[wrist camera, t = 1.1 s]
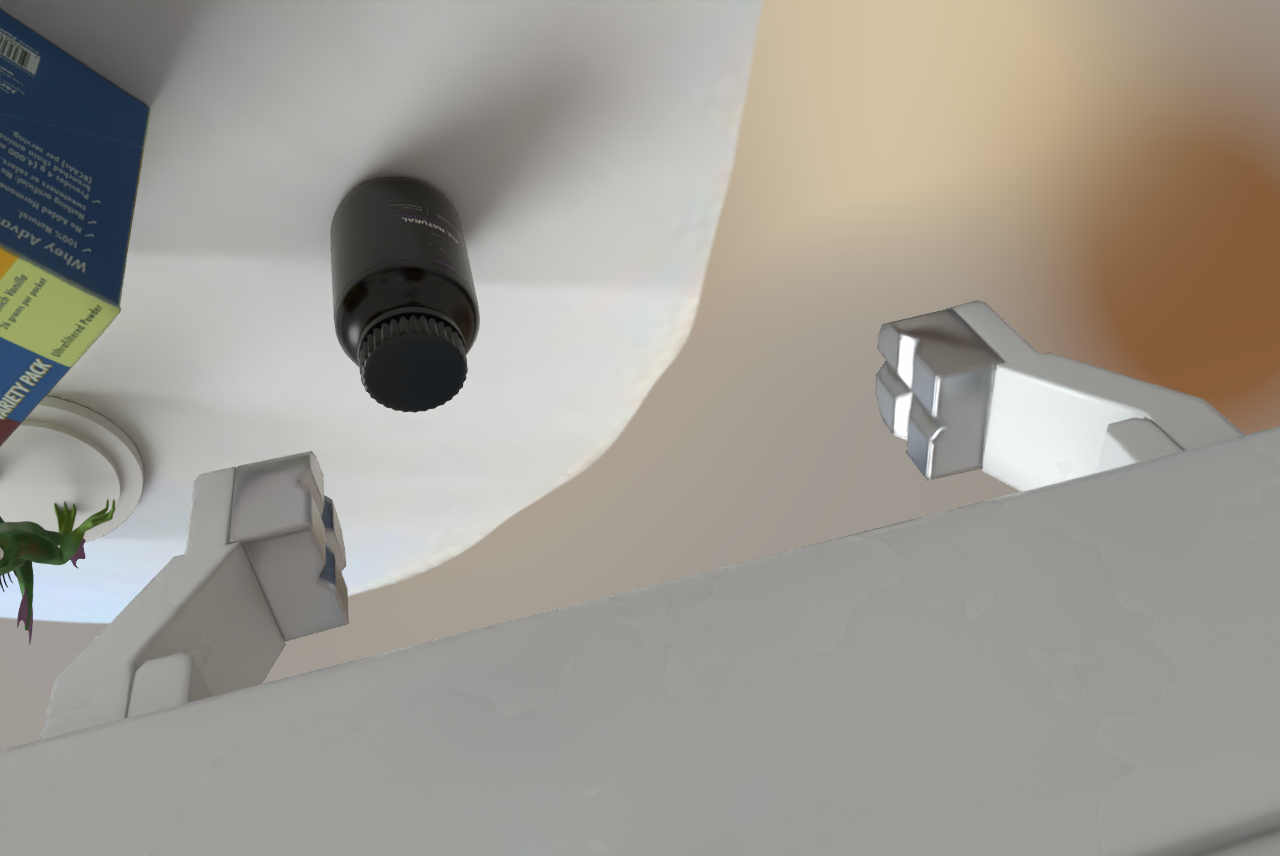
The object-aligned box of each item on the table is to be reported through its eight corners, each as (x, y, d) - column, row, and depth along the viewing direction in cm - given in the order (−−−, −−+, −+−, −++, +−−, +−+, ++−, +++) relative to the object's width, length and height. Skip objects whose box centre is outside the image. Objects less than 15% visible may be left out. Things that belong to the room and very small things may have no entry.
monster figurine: (115, 382, 58) (95, 520, 51) (164, 525, 67) (152, 662, 60) (-133, 405, 56) (-190, 554, 48) (-50, 552, 64) (-89, 698, 57)
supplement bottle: (452, 163, 54) (486, 304, 46) (467, 271, 59) (500, 416, 51) (314, 180, 53) (324, 328, 45) (341, 289, 58) (354, 441, 50)
